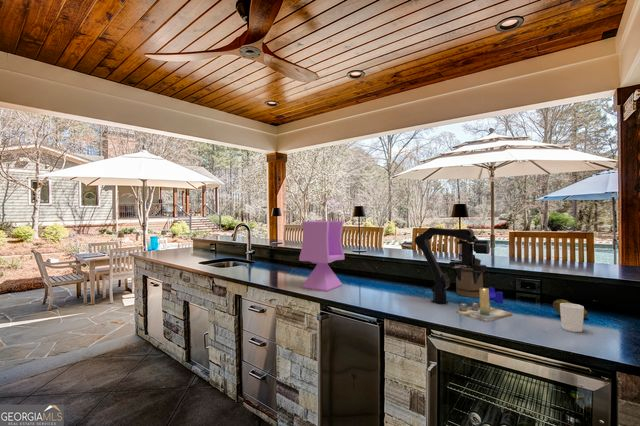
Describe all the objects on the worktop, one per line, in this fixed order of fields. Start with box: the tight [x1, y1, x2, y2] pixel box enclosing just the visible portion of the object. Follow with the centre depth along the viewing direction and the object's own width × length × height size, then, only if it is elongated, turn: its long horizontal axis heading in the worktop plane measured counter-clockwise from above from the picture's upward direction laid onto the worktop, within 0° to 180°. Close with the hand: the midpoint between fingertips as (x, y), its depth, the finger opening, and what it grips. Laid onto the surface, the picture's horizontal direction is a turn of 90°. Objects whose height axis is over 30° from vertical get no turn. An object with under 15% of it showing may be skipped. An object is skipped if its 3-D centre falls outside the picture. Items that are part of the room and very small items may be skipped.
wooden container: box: [455, 265, 484, 298], centre depth 191 cm, size 15×15×22 cm
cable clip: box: [487, 287, 504, 304], centre depth 177 cm, size 12×4×6 cm, turn 172°
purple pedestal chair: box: [298, 220, 346, 293], centre depth 213 cm, size 22×22×45 cm
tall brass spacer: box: [479, 287, 490, 316], centre depth 147 cm, size 4×4×12 cm
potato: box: [552, 298, 589, 319], centre depth 146 cm, size 8×13×8 cm, turn 54°
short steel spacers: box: [459, 298, 491, 312], centre depth 156 cm, size 8×18×4 cm, turn 118°
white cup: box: [559, 302, 585, 333], centre depth 131 cm, size 8×8×10 cm
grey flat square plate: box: [472, 312, 498, 319], centre depth 146 cm, size 8×8×1 cm
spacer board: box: [455, 305, 513, 323], centre depth 152 cm, size 16×20×1 cm
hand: (467, 282), depth 163 cm, fingers open, 9 cm apart
